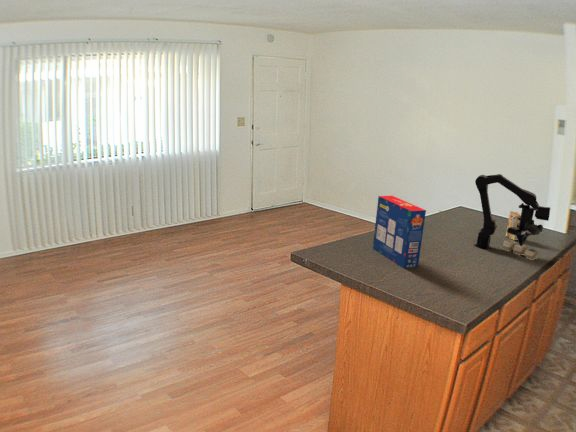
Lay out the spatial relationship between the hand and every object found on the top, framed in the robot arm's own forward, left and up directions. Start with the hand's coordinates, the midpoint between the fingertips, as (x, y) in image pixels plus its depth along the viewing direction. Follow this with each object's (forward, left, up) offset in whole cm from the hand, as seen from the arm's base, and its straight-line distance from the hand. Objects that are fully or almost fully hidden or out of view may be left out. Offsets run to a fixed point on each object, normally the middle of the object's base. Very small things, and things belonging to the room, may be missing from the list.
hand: (520, 245), depth 269 cm
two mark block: (0, +7, -5) cm, 8 cm away
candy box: (+19, +21, -5) cm, 29 cm away
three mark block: (0, -7, -5) cm, 9 cm away
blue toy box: (-70, +16, -5) cm, 72 cm away
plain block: (0, 0, -5) cm, 5 cm away
